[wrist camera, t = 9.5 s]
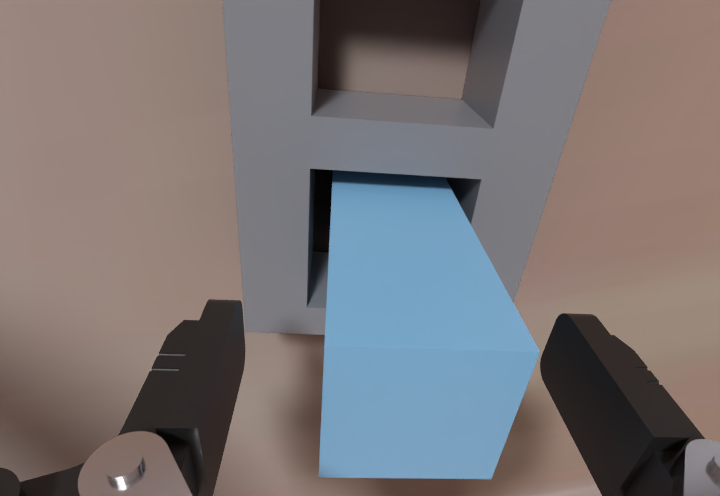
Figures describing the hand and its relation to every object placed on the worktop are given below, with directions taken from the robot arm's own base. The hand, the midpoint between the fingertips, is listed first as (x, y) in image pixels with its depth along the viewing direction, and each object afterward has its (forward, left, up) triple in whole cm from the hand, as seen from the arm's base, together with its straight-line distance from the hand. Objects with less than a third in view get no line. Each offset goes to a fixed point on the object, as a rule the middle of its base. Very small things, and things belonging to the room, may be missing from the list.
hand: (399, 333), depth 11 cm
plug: (0, 0, -8) cm, 8 cm away
